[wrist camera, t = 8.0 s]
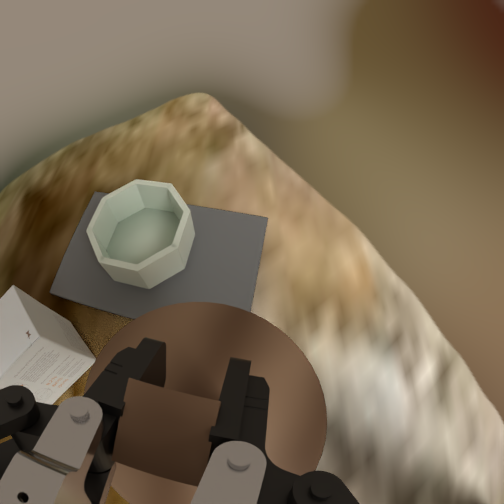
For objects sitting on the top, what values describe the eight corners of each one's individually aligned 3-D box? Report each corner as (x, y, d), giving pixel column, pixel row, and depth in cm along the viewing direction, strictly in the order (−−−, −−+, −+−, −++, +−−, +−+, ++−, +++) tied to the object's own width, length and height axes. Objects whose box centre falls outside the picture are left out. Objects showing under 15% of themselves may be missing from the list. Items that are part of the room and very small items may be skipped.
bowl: (202, 215, 34) (198, 187, 30) (178, 297, 29) (168, 277, 25) (125, 203, 34) (113, 176, 30) (93, 277, 30) (74, 256, 26)
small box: (71, 320, 28) (14, 281, 19) (99, 361, 26) (41, 335, 17) (26, 365, 25) (-39, 340, 16) (51, 407, 23) (-16, 397, 14)
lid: (334, 328, 16) (403, 261, 9) (298, 536, 10) (343, 614, 3) (122, 287, 16) (57, 203, 9) (76, 482, 11) (-19, 507, 4)
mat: (267, 220, 35) (267, 217, 34) (244, 344, 28) (244, 343, 28) (96, 194, 36) (95, 191, 35) (51, 294, 29) (49, 292, 28)
